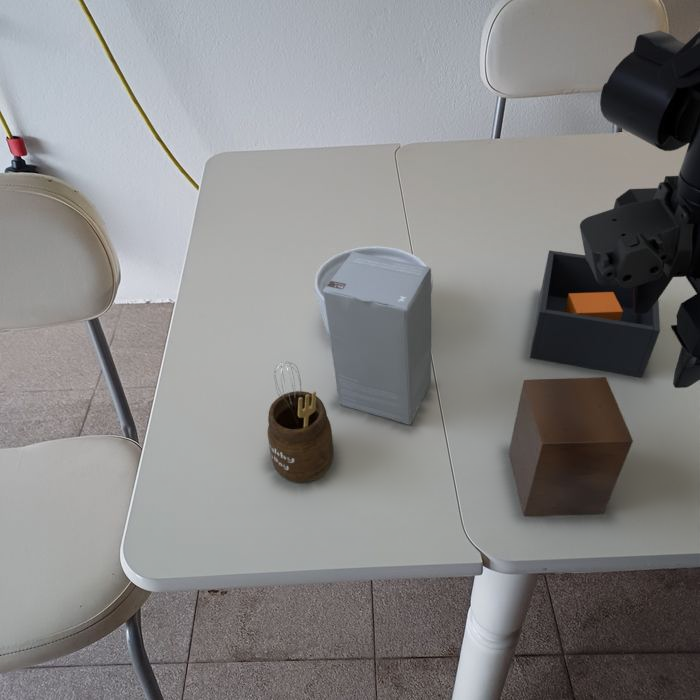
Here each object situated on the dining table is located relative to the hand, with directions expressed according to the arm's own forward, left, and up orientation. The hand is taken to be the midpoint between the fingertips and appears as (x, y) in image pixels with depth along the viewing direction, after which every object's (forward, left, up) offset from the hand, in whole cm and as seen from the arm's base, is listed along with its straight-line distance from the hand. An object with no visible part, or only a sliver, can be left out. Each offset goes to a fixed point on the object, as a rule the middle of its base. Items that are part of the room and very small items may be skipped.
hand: (658, 347), depth 54 cm
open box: (+4, -15, -12) cm, 20 cm away
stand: (+6, +7, -12) cm, 15 cm away
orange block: (+4, -15, -11) cm, 19 cm away
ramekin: (+28, -10, -12) cm, 32 cm away
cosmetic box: (+24, +1, -12) cm, 27 cm away
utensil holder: (+29, +11, -12) cm, 33 cm away
